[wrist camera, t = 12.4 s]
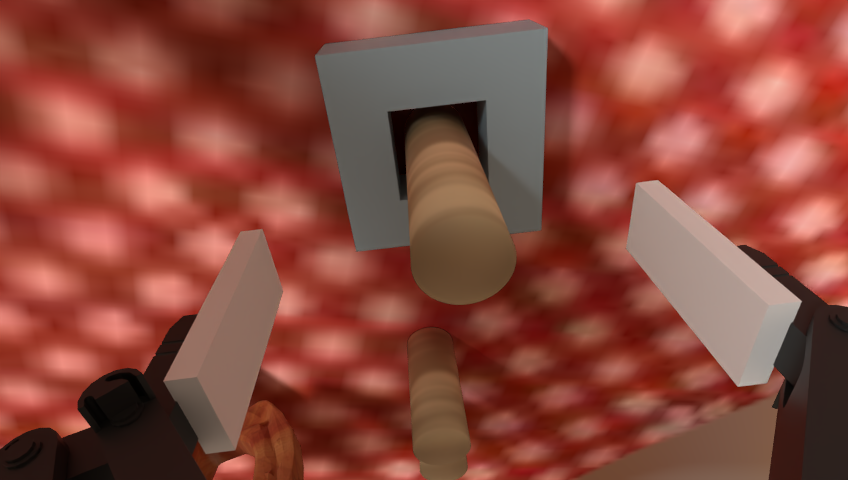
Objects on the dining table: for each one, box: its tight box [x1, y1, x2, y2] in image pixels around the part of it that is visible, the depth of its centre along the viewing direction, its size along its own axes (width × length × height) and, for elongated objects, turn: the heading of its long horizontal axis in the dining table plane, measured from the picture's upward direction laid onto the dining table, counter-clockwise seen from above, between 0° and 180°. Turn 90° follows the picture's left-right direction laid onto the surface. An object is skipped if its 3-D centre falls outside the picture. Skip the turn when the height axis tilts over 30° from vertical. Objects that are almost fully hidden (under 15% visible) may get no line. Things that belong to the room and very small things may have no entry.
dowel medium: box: [407, 327, 471, 465], centre depth 33 cm, size 4×4×9 cm
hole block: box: [315, 20, 548, 252], centre depth 26 cm, size 11×11×4 cm
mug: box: [192, 400, 304, 480], centre depth 31 cm, size 15×8×15 cm, turn 99°
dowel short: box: [420, 456, 468, 480], centre depth 38 cm, size 4×4×6 cm
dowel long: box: [404, 105, 517, 305], centre depth 22 cm, size 4×4×14 cm
